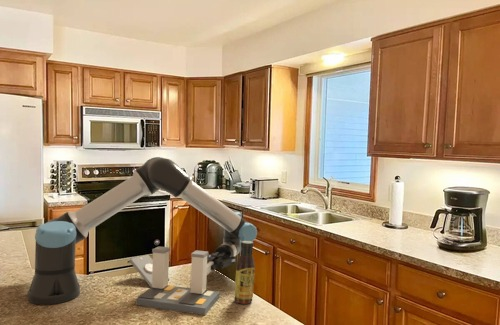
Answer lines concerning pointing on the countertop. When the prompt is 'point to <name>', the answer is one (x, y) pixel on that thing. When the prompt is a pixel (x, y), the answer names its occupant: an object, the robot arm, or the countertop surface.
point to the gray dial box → (144, 267)
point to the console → (178, 299)
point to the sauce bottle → (245, 274)
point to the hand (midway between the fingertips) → (205, 270)
